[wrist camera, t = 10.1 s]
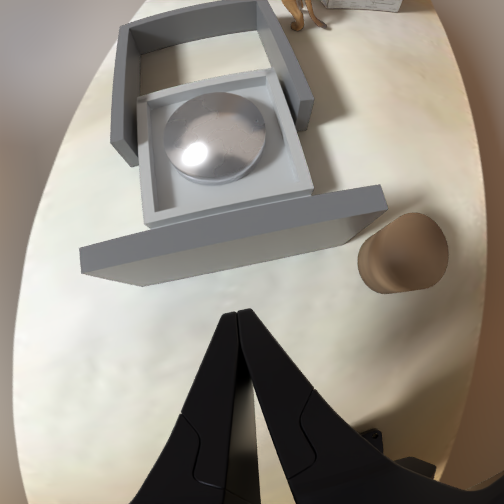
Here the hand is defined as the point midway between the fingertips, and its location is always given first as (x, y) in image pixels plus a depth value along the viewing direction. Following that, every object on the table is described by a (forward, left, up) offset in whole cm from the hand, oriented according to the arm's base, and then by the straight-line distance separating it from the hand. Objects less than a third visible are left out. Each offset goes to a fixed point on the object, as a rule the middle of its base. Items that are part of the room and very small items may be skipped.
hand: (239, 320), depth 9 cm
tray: (+11, 0, -11) cm, 16 cm away
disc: (+12, 0, -10) cm, 16 cm away
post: (+1, -10, -11) cm, 15 cm away
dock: (+20, 0, -11) cm, 23 cm away
